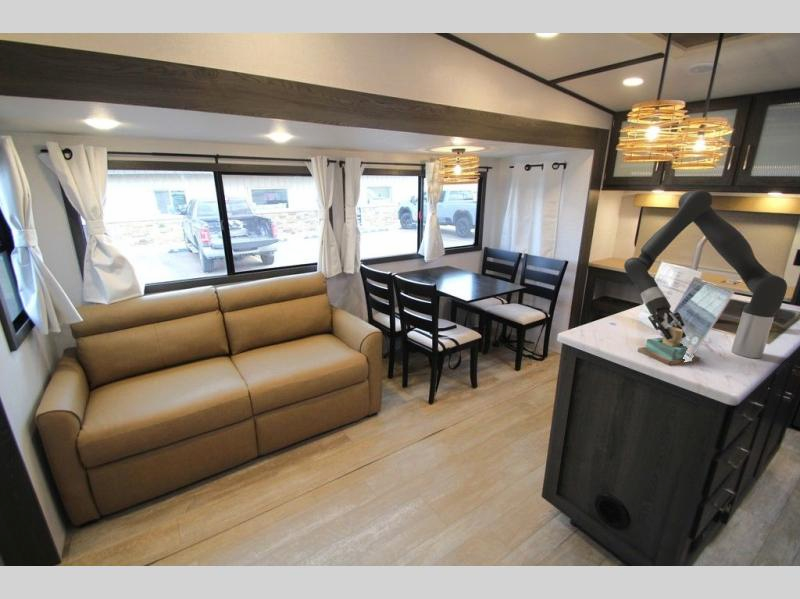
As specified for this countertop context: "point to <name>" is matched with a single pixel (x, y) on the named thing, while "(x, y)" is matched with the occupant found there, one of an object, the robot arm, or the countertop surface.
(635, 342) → the countertop surface
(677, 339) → the peg
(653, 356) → the socket block
